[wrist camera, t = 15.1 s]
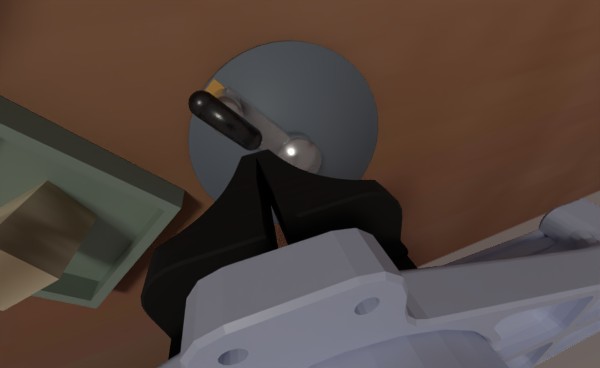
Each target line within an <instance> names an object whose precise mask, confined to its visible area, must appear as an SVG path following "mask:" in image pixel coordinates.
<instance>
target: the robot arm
mask: <svg viewBox="0 0 600 368" xmlns="http://www.w3.org/2000/svg"><path fill="white" fill-rule="evenodd" d="M271 206H272V208H271ZM272 209H273V211H274V213H275V216H276V218H277V220H278V223H279V225H280V227H281V229H282V232H283V234H284V236H285V239H286V241H287V244H288V246H285V247H282V248H279V249H278V244H277V238H276V232H275V226H274V220H273V214H272ZM401 228H402V208H401V206H400V204H399V202H398V201H397V200H396V199H395V198H394V197H393V196H392V195H391V194H390V193H389V192H388V191H387V190H386V189H385V188H384V187H383V186H381V185H380V184H379V183H378V182H376V181H375V180H348V179H338V178H331V177H326V176H322V175H317V174H314V173H311V172H308V171H305V170H302V169H300V168H298V167H295V166H293V165H291V164H290V163H288V162H286V161H285V160H283V159H282V158H280V157H279V156H277V155H276V154H275V153H273V152H272V151H271V150H269V149H266V150H263V151H259V152H255V153H252V154H248V155H245V156H242V157H241V159H240V161H239V164H238V166H237V168H236V171H235V173H234V175H233V177H232V179H231V180H230V182H229V184H228V185H227V187H226V189H225V190H224V191H223V193H222V194H221V195H220V197H219V198H218V199H217V200H216V201H215V203H214V204H213V205H212V206H211V207H210V208H209V209H208V210H207V211H206V212H205V213H204V214H203V215H201V216H200V217H199V218H198V219H197V220H196V221H194V222H193V223H192V224H191V225H189V226H188V227H187V228H186V229H184V230H183V231H181V232H180V233H179V234H177V235H176V236H174V237H173V238H171V239H169V240H168V241H166V242H165V243H163V244H162V245H160V246H159V247H157V248H155V251H154V253H153V256H152V259H151V262H150V265H149V268H148V272H147V276H146V279H145V283H144V287H143V290H142V294H141V303H142V307H143V309H144V310H145V312H146V313H147V315H148V316H149V317H150V318H151V319H152V320H153V321H154V322H155V323H156V324H157V325H158V326H159V327H160V328H161V329H162V330H163V331H164V332H165V333H166V334H167V335H168V336H169V337H170V338H171V345H170V352H169V359H168V360H167V361H166V362H164V363H163V364H161V365H159V366H158V367H156V368H533V367H534V366H536V365H538V364H540V363H542V362H544V361H546V360H547V359H549V358H551V357H553V356H555V355H556V354H558V353H560V352H562V351H564V350H566V349H567V348H569V347H571V346H573V345H575V344H577V343H579V342H581V341H583V340H584V339H586V338H588V337H590V336H592V335H594V334H596V333H598V332H600V206H598V205H596V204H594V203H592V202H590V201H588V200H585V199H578V200H575V201H572V202H570V203H567V204H564V205H561V206H559V207H556V208H554V209H552V210H550V211H549V212H548V213H547V214H545V216H544V217H543V219H542V220H541V222H540V225H539V230H536V231H534V232H531V233H528V234H525V235H523V236H520V237H517V238H515V239H512V240H509V241H507V242H504V243H501V244H499V245H496V246H493V247H490V248H488V249H485V250H482V251H480V252H477V253H474V254H472V255H469V256H466V257H464V258H461V259H458V260H456V261H453V262H450V263H448V264H445V265H442V266H434V267H426V268H417V267H416V266H415V265H414V263H413V262H412V261H411V260H410V258H409V257H408V256H407V254H408V250H407V248H406V247H405V245H404V244H403V243H402V242H401V241H400V239H401Z"/></svg>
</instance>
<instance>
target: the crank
mask: <svg viewBox="0 0 600 368" xmlns="http://www.w3.org/2000/svg"><path fill="white" fill-rule="evenodd" d="M188 104H189V108H190V111H191V112H192V113H193V114H194V115H195V116H196V117H198V118H199V119H201V120H202V121H203V122H205V123H206V124H208V125H209V126H211V127H212V128H213V129H214V130H215V131H216V132H217V133H218V134H220V135H222V136H225V137H227V138H229V139H230V140H232V141H233V142H235V143H236V144H238V145H239V146H241V147H242V148H244V149H246V150H249V151H252V150H256V149H258V148H260V149H262V150H266V149H269V150H271V151H272V152H273V153H275V154H276V155H277V156H279V157H280V158H282V159H283V160H285V161H286V162H288V163H290V164H291V165H293V166H295V167H298V168H300V169H302V170H305V171H308V172H311V173H314V174H316V173H317V172H318V170H319V168H320V165H321V160H322V158H321V153H320V151H319V149H318V148H317V147H316V145H315V144H314V143H313V141H312V140H311V139H310V138H309V137H308V136H307V135H306V134H304V133H302V132H298V131H292V132H288V133H287V132H286V131H285V130H284V129H282V128H281V127H280V126H279V125H277V124H276V123H275V122H274V121H272V120H271V119H270V118H269V117H267V116H266V115H265V114H264V113H262V112H261V111H260V110H259V109H257V108H256V107H255V106H254V105H252V104H251V103H250V102H249V101H247V100H246V99H245V98H244V97H243V96H241V95H240V94H239V93H238V92H236V91H235V90H234V89H233V88H231V87H230V86H229V85H228V87H227V88H222V89H219V90H217V91H216V92H215V93H214V95H212V94H211V93H209V92H207V91H196V92H194V93H193V94H192V95H191V96H190V98H189V103H188Z"/></svg>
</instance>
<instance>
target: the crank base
mask: <svg viewBox="0 0 600 368" xmlns="http://www.w3.org/2000/svg"><path fill="white" fill-rule="evenodd" d="M228 85H229V86H230V87H231V88H233V89H234V90H235V91H236V92H238V93H239V94H240V95H241V96H243V97H244V98H245V99H246V100H247V101H249V102H250V103H251V104H252V105H254V106H255V107H256V108H257V109H259V110H260V111H261V112H262V113H264V114H265V115H266V116H267V117H269V118H270V119H271V120H272V121H274V122H275V123H276V124H277V125H279V126H280V127H281V128H282V129H284V130H285V131H286V132H287V133H288V132H292V131H298V132H302V133H304V134H306V135H307V136H308V137H309V138H310V139H311V140H312V141H313V143H314V144H315V145H316V147H317V148H318V149H319V151H320V153H321V158H322V160H321V165H320V168H319V170H318V172H317V173H316V174H317V175H322V176H326V177H331V178H338V179H348V180H360V179H361V178H362V176H363V174H364V173H365V171H366V169H367V167H368V165H369V163H370V161H371V159H372V156H373V153H374V150H375V146H376V142H377V134H378V115H377V108H376V104H375V101H374V97H373V94H372V92H371V90H370V88H369V86H368V84H367V82H366V81H365V79H364V78H363V76H362V75H361V73H360V72H359V71H358V70H357V69H356V68H355V67H354V66H353V65H352V64H351V63H350V62H349V61H347V60H346V59H345V58H344V57H342V56H341V55H339V54H337V53H335V52H334V51H332V50H330V49H327V48H325V47H322V46H319V45H316V44H311V43H306V42H301V41H279V42H271V43H267V44H263V45H259V46H256V47H254V48H252V49H249V50H247V51H245V52H243V53H241V54H239V55H238V56H236V57H234V58H233V59H231V60H230V61H229V62H227V63H226V64H225V65H224V66H223V67H221V68H220V69H219V70H218V71H217V72H216V73H215V75H214V76H213V77H212V78H211V79H210V80H209V81H208V83H207V85H206V86H205V88H204V89H203V91H207V92H209V93H211V94H212V95H214V93H215V92H216V91H217V90H219V89H222V88H227V87H228ZM259 151H263V150H262V149H260V148H258V149H256V150H252V151H249V150H246V149H244V148H242V147H241V146H239V145H238V144H236V143H235V142H233V141H232V140H230V139H229V138H227V137H225V136H222V135H220V134H218V133H217V132H216V131H215V130H214V129H213V128H212V127H211V126H209V125H208V124H206V123H205V122H203V121H202V120H201V119H199V118H198V117H196V116H195V115H194V114H192V118H191V122H190V128H189V153H190V158H191V163H192V166H193V169H194V172H195V174H196V176H197V178H198V180H199V182H200V184H201V185H202V187H203V188H204V189H205V191H206V192H207V193H208V195H209V196H210V197H211V198H212V199H213V200H214V201H216V200H217V199H218V198H219V197H220V195H221V194H222V193H223V191H224V190H225V189H226V187H227V185H228V184H229V182H230V180H231V179H232V177H233V175H234V173H235V171H236V168H237V166H238V164H239V161H240V159H241V157H242V156H245V155H248V154H252V153H255V152H259ZM271 208H272V206H271ZM272 214H273V220H274V224H279V223H278V220H277V218H276V216H275V213H274V211H273V209H272Z"/></svg>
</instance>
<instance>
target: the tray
mask: <svg viewBox="0 0 600 368" xmlns="http://www.w3.org/2000/svg"><path fill="white" fill-rule="evenodd" d="M47 180H48V181H49V182H51V183H52V184H54V185H55V186H57V187H58V188H59V189H61V190H62V191H64V192H65V193H66V194H68V195H69V196H71V197H72V198H73V199H75V200H76V201H78V202H79V203H80V204H82V205H83V206H85V207H86V208H87V209H89V210H90V211H92V212H93V213H94V214H96V215H97V216H98V217H97V219H96V220H95V222H94V224H93V225H92V227H91V228H90V230H89V232H88V233H87V235H86V237H85V238H84V240H83V241H82V243H81V245H80V246H79V248H78V250H77V251H76V253H75V254H74V256H73V258H72V259H71V261H70V263H69V264H68V266H67V267H66V269H65V271H64V272H63V274H62V276H61V277H60V279H59V280H57V281H55V282H53V283H51V284H50V285H48V286H46V287H44V288H43V289H41V290H39V291H37V292H36V293H34V294H32V296H37V297H42V298H47V299H52V300H57V301H62V302H67V303H72V304H76V305H81V306H86V307H91V308H97V307H98V306H99V305H100V304H101V302H102V301H103V300H104V299H105V298H106V297H107V295H108V294H109V293H110V292H111V291H112V290H113V288H114V287H115V286H116V285H117V284H118V282H119V281H120V280H121V279H122V278H123V277H124V275H125V274H126V273H127V272H128V271H129V269H130V268H131V267H132V266H133V265H134V264H135V262H136V261H137V260H138V259H139V258H140V257H141V255H142V254H143V253H144V252H145V251H146V249H147V248H148V247H149V246H150V245H151V244H152V242H153V241H154V240H155V239H156V238H157V236H158V235H159V234H160V233H161V232H162V231H163V229H164V228H165V227H166V226H167V225H168V223H169V222H170V221H171V220H172V219H173V218H174V216H175V215H176V214H177V213H178V212H179V211H180V209H181V207H182V202H183V197H184V192H185V190H183V189H181V188H179V187H177V186H175V185H173V184H171V183H169V182H167V181H165V180H163V179H161V178H159V177H157V176H155V175H153V174H152V173H150V172H148V171H146V170H144V169H142V168H140V167H138V166H136V165H134V164H132V163H130V162H128V161H126V160H124V159H122V158H120V157H118V156H116V155H115V154H113V153H111V152H109V151H107V150H105V149H103V148H101V147H99V146H97V145H95V144H93V143H91V142H89V141H87V140H85V139H83V138H81V137H79V136H78V135H76V134H74V133H72V132H70V131H68V130H66V129H64V128H62V127H60V126H58V125H56V124H54V123H52V122H50V121H48V120H46V119H44V118H42V117H40V116H39V115H37V114H35V113H33V112H31V111H29V110H27V109H25V108H23V107H21V106H19V105H17V104H15V103H13V102H11V101H9V100H7V99H5V98H3V97H2V96H0V207H2V206H4V205H5V204H7V203H9V202H11V201H12V200H14V199H16V198H17V197H19V196H21V195H23V194H24V193H26V192H28V191H30V190H31V189H33V188H35V187H36V186H38V185H40V184H42V183H43V182H45V181H47Z"/></svg>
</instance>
